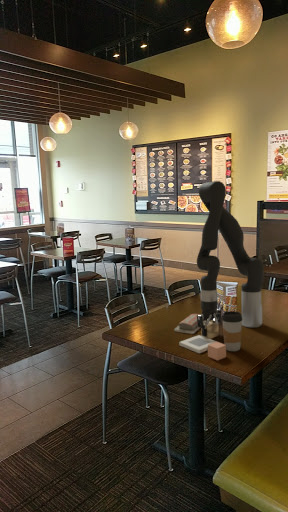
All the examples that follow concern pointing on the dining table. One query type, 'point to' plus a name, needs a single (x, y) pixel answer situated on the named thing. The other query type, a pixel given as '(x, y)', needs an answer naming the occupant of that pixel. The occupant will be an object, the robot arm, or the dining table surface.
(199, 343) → the plate
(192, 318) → the packaged product
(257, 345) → the dining table surface
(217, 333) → the maple block
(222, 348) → the terracotta block
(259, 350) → the dining table surface
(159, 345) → the dining table surface
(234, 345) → the coffee cup
